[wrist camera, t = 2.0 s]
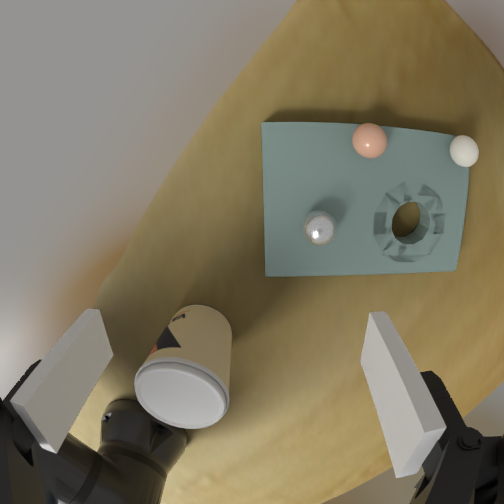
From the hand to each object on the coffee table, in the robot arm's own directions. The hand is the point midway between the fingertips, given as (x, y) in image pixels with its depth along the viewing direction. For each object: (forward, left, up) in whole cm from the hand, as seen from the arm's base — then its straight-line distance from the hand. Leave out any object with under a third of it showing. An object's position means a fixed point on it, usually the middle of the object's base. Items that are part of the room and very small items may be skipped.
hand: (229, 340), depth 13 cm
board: (+12, +2, -20) cm, 24 cm away
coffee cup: (-7, -14, -21) cm, 26 cm away
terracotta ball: (+11, +8, -16) cm, 21 cm away
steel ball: (+6, 0, -16) cm, 17 cm away
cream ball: (+21, +8, -16) cm, 28 cm away
